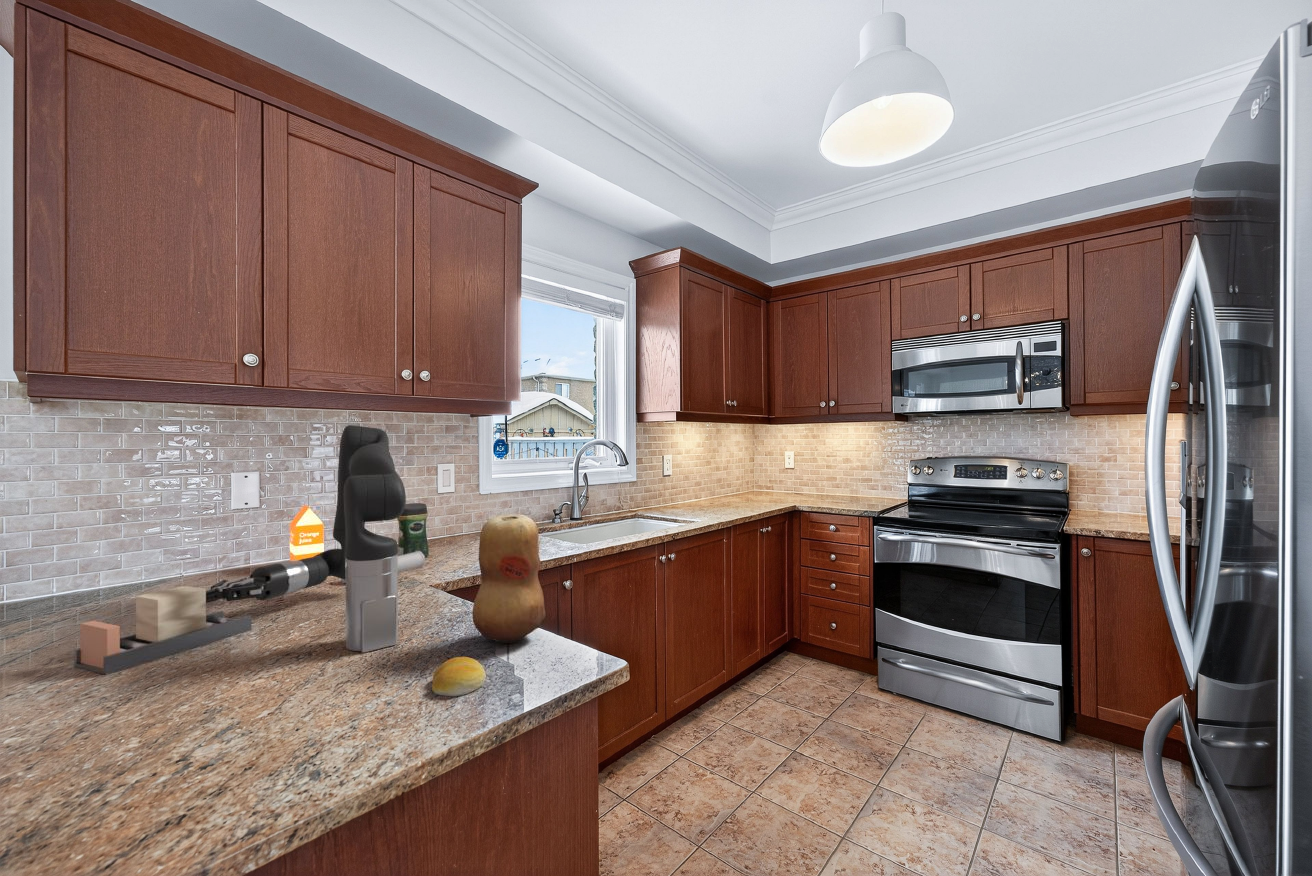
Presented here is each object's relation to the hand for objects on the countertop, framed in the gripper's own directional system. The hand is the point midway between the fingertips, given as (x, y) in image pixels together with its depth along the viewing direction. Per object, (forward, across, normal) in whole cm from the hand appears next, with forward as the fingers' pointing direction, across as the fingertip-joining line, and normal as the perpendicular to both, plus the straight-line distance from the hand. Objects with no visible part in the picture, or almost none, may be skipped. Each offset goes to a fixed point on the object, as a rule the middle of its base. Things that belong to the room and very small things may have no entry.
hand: (195, 599), depth 112 cm
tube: (-53, -8, +8) cm, 54 cm away
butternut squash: (-22, +60, +8) cm, 65 cm away
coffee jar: (-74, -18, +8) cm, 77 cm away
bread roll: (-3, +65, +8) cm, 65 cm away
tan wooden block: (+4, 0, +6) cm, 7 cm away
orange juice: (-49, -35, +8) cm, 61 cm away
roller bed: (+4, 0, +8) cm, 9 cm away
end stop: (+15, 0, +7) cm, 17 cm away
